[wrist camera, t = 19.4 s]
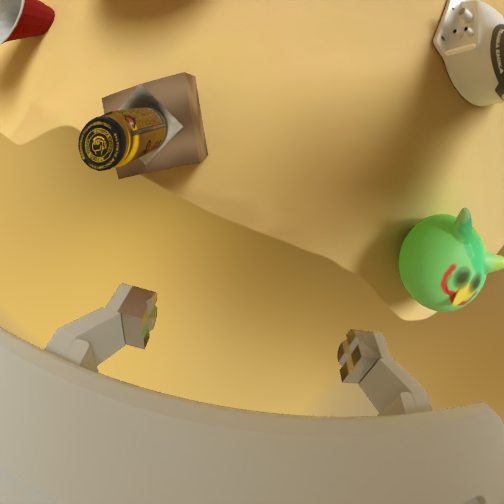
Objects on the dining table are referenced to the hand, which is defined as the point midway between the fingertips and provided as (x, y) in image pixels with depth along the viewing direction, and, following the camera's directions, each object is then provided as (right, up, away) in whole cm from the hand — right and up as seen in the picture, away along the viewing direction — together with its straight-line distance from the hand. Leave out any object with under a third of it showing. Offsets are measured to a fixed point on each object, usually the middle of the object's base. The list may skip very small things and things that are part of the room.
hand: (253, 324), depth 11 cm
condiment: (-14, +19, +21) cm, 31 cm away
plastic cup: (-37, +44, +14) cm, 59 cm away
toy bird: (+32, +5, +33) cm, 46 cm away
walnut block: (-13, +22, +26) cm, 36 cm away
